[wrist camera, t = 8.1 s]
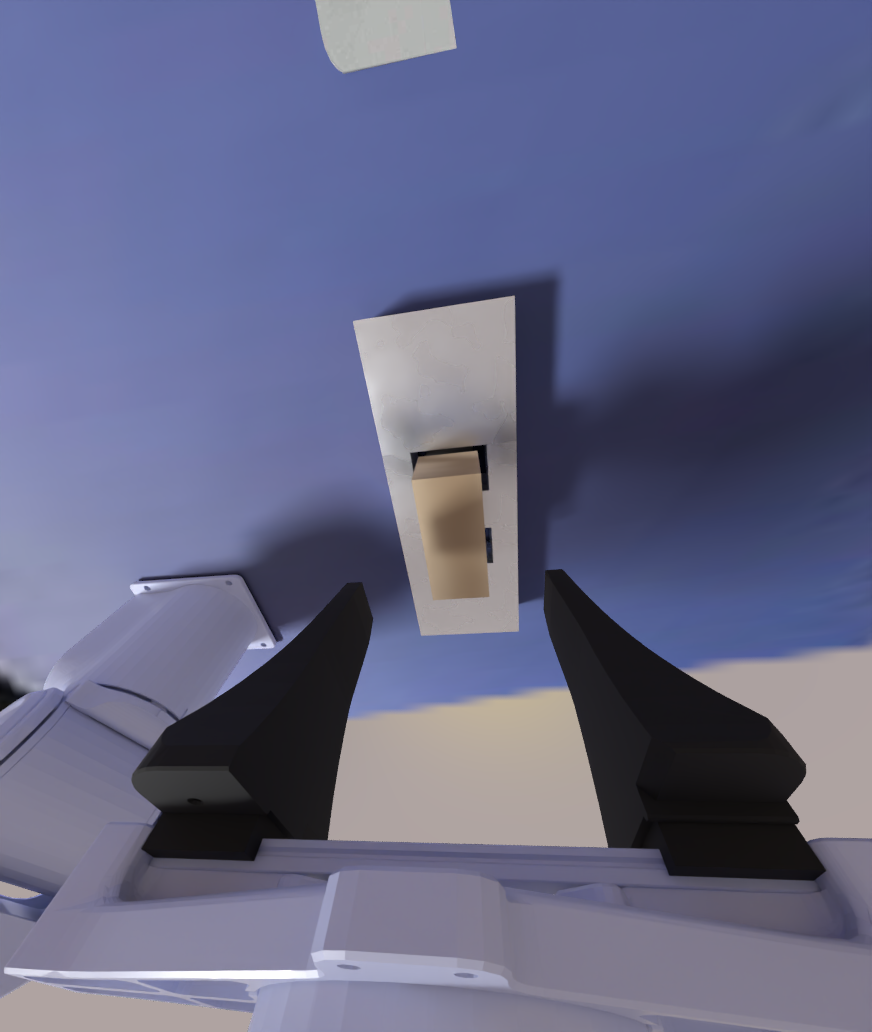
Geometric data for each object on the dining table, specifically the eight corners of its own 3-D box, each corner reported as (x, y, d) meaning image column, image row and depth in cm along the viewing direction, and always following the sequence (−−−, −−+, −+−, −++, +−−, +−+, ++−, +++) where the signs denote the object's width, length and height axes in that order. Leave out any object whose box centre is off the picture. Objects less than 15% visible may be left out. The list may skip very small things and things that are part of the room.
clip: (438, 538, 23) (433, 600, 18) (423, 439, 20) (411, 480, 14) (482, 535, 23) (489, 597, 17) (474, 434, 19) (480, 473, 14)
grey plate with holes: (424, 610, 26) (421, 635, 24) (366, 322, 17) (352, 321, 14) (513, 605, 26) (518, 631, 23) (507, 300, 16) (514, 295, 14)
